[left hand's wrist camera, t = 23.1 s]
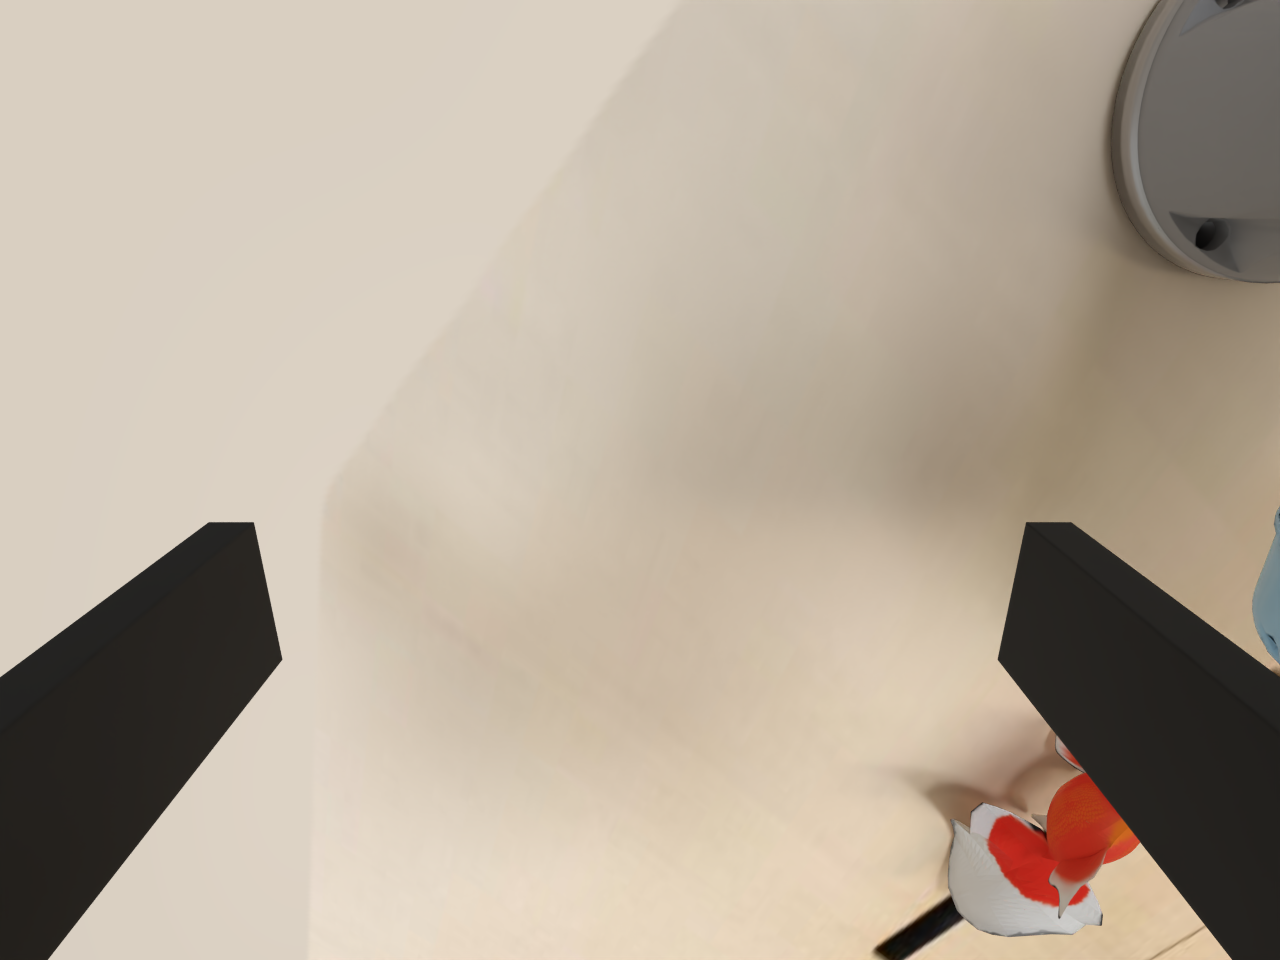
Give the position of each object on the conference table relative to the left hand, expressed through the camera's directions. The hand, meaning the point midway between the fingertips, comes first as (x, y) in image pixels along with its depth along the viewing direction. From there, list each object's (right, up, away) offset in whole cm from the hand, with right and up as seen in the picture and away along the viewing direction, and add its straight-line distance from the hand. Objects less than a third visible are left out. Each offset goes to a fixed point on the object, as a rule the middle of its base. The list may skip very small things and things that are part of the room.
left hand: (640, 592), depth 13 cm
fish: (+24, -18, +34) cm, 45 cm away
